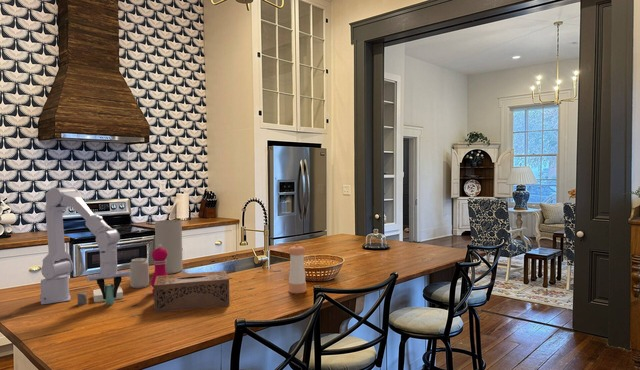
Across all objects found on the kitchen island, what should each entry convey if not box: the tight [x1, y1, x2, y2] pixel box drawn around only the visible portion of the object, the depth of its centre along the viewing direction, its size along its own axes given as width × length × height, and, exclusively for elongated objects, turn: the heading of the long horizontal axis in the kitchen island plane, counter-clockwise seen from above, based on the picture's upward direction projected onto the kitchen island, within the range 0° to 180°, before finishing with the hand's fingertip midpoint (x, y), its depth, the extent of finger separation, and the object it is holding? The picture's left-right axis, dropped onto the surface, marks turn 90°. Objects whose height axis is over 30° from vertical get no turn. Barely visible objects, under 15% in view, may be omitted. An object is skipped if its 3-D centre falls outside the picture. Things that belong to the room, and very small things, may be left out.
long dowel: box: [104, 283, 115, 306], centre depth 160 cm, size 3×3×7 cm
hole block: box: [92, 285, 124, 303], centre depth 169 cm, size 10×10×2 cm
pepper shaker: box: [287, 243, 307, 294], centre depth 175 cm, size 7×7×19 cm
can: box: [129, 257, 150, 289], centre depth 185 cm, size 8×8×12 cm
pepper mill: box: [150, 244, 169, 296], centre depth 174 cm, size 7×7×20 cm
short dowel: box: [76, 292, 88, 306], centre depth 160 cm, size 3×3×4 cm
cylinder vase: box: [154, 219, 184, 275], centre depth 213 cm, size 12×12×25 cm
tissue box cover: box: [153, 270, 230, 314], centre depth 160 cm, size 26×14×10 cm, turn 108°
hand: (109, 297), depth 160 cm, fingers closed on long dowel, 3 cm apart
